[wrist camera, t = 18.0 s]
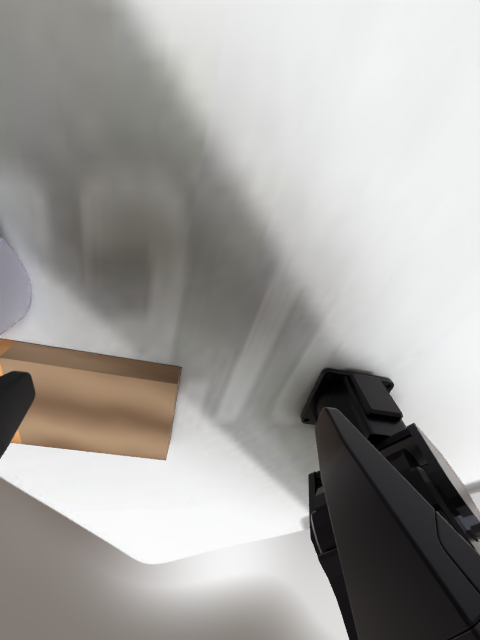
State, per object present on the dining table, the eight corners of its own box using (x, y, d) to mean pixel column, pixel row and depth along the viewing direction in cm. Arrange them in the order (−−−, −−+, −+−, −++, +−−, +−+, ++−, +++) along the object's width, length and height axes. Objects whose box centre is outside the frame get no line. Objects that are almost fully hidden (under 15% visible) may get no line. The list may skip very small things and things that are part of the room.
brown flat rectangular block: (169, 441, 28) (165, 460, 26) (-49, 415, 25) (-69, 433, 24) (181, 367, 23) (177, 384, 21) (-88, 324, 21) (-118, 340, 19)
